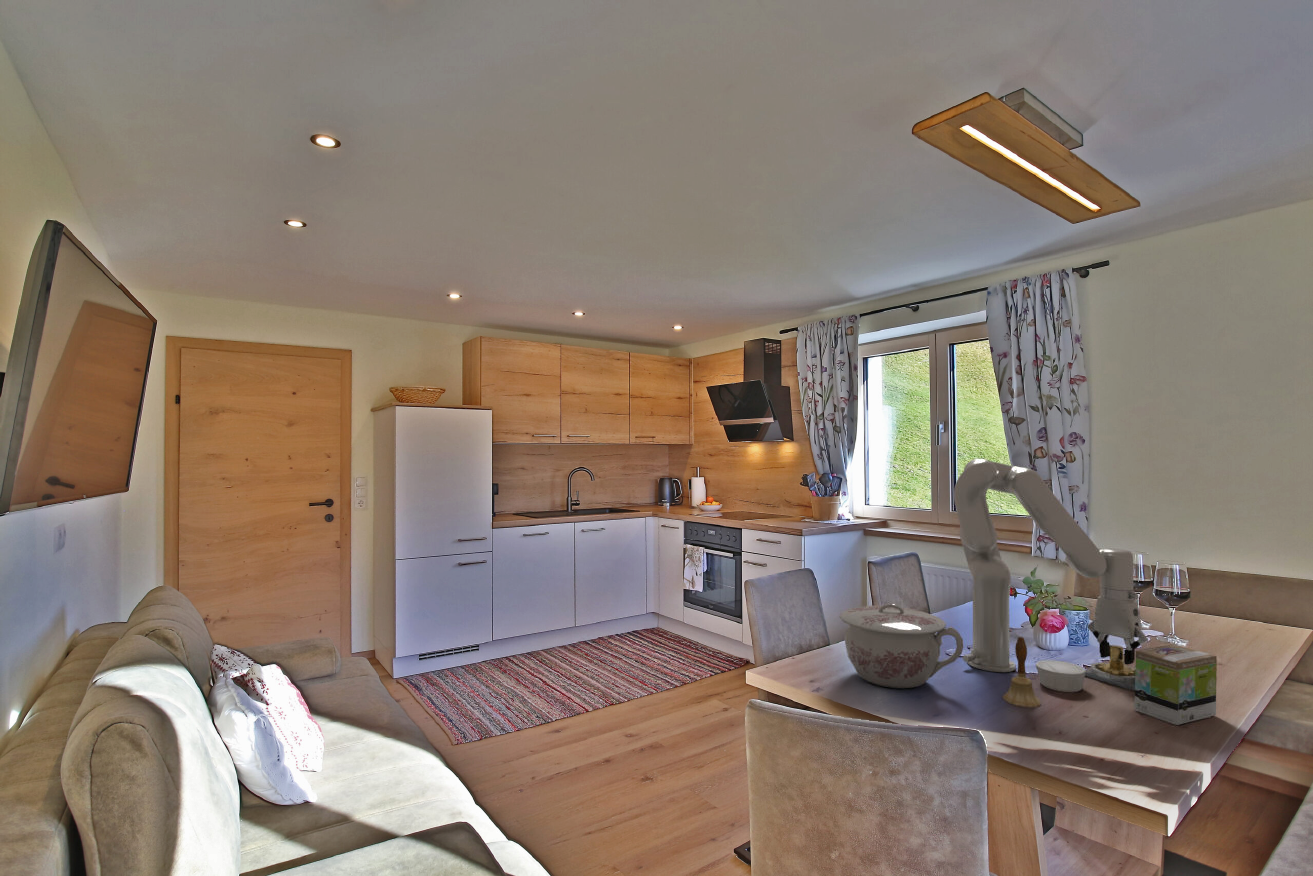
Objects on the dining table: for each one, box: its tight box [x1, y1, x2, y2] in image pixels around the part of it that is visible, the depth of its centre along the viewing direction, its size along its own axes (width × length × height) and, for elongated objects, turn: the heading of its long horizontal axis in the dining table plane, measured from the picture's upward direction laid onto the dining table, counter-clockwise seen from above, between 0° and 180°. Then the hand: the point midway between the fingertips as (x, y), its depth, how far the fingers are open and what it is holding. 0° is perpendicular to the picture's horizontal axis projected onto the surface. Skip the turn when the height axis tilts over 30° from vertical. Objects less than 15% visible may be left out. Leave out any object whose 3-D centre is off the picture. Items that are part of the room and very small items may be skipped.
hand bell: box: [1002, 636, 1042, 709], centre depth 165 cm, size 8×8×16 cm
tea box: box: [1133, 643, 1218, 726], centre depth 157 cm, size 15×10×15 cm, turn 114°
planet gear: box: [1099, 644, 1135, 676], centre depth 181 cm, size 8×8×7 cm
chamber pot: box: [839, 603, 964, 690], centre depth 179 cm, size 28×28×21 cm
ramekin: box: [1035, 659, 1086, 693], centre depth 175 cm, size 11×11×5 cm
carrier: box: [1084, 661, 1135, 692], centre depth 178 cm, size 12×17×5 cm
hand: (1116, 659), depth 181 cm, fingers open, 5 cm apart
